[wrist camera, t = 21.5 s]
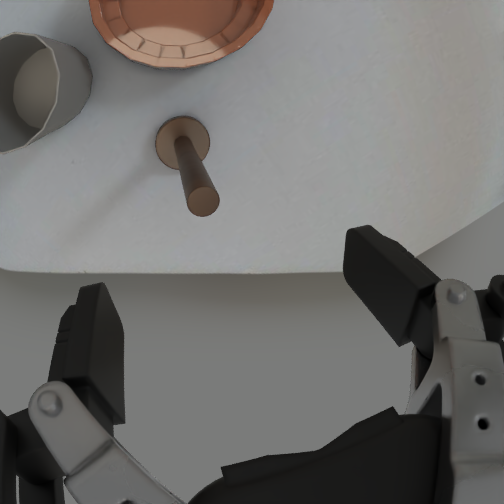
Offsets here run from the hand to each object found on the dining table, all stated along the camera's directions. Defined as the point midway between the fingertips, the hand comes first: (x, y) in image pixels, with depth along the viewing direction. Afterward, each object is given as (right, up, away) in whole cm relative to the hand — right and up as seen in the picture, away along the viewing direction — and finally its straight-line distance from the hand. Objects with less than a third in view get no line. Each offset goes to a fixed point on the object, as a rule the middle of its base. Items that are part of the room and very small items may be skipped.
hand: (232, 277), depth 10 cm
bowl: (-6, +23, +11) cm, 27 cm away
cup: (-18, +16, +12) cm, 27 cm away
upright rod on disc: (-6, +11, +18) cm, 22 cm away
